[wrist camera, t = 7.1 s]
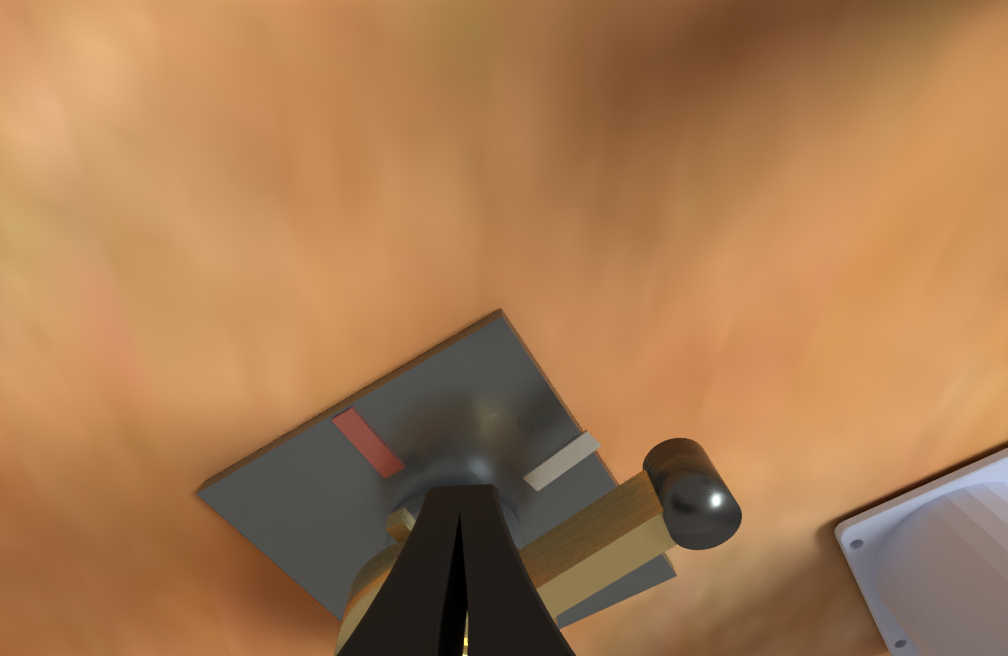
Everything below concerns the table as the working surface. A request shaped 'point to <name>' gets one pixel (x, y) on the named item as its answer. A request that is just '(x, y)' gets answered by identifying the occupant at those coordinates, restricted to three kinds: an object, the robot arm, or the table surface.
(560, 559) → the brass lever handle
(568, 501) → the dark grey plate
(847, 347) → the table surface
